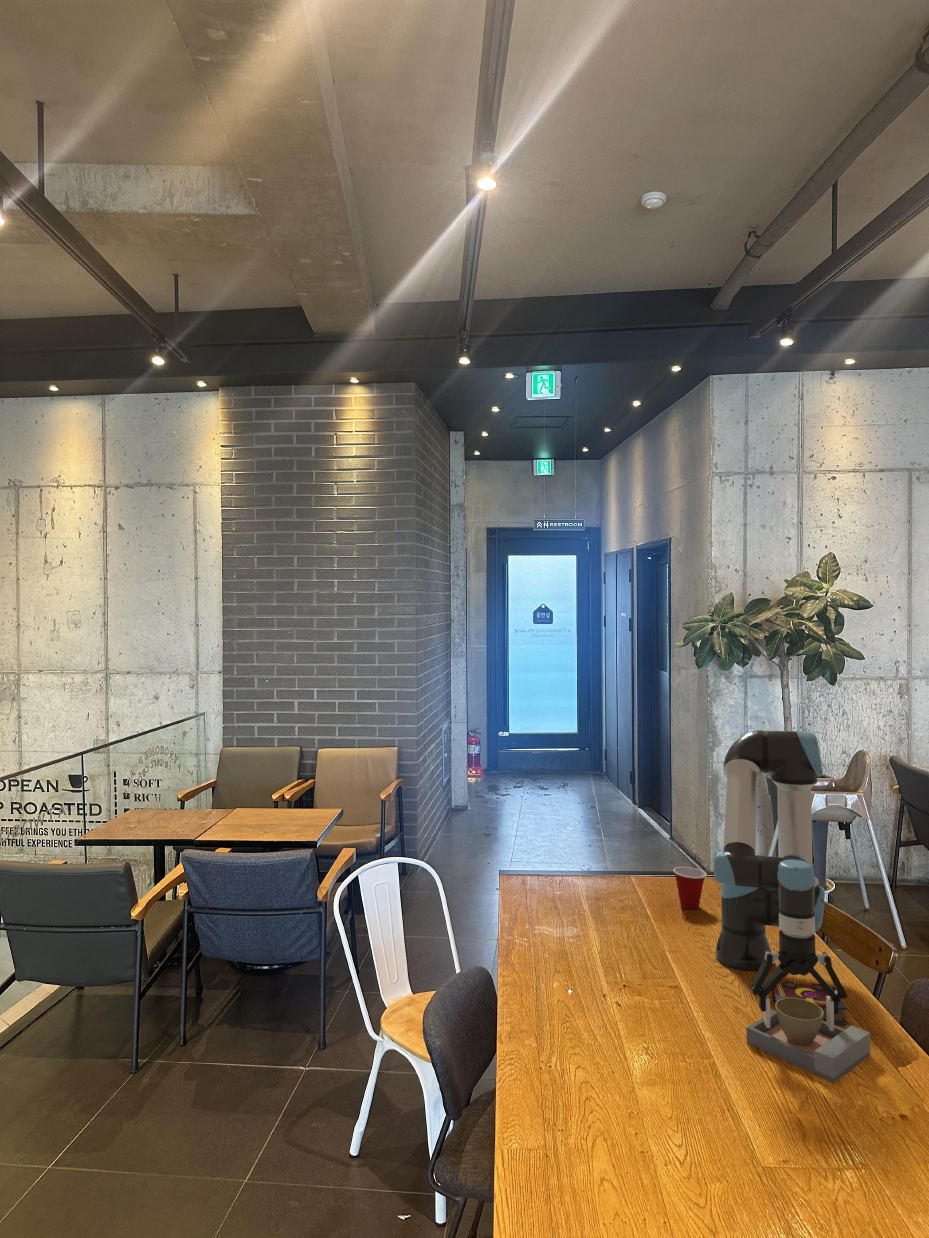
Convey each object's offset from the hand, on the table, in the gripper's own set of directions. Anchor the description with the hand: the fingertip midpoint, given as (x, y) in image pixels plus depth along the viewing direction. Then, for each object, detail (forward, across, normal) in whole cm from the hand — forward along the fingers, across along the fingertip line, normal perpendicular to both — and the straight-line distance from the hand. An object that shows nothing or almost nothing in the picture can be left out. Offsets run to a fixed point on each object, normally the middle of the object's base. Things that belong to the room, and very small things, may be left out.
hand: (798, 1026), depth 176 cm
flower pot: (+3, 0, 0) cm, 3 cm away
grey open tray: (+4, +1, -1) cm, 5 cm away
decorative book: (+5, +7, +16) cm, 18 cm away
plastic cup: (+4, -11, +84) cm, 85 cm away
